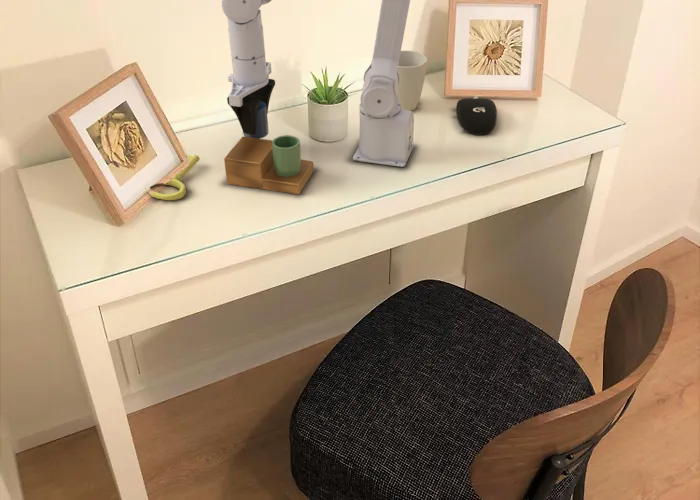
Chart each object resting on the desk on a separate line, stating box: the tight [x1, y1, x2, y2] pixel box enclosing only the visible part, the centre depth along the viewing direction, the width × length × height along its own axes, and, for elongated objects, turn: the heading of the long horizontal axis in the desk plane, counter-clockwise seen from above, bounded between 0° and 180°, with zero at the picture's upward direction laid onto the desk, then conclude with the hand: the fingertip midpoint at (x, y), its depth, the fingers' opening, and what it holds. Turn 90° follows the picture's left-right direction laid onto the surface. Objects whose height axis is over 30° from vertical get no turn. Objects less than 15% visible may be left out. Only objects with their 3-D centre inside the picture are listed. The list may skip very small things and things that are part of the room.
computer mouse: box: [455, 95, 498, 136], centre depth 146 cm, size 8×12×4 cm, turn 179°
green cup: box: [272, 135, 302, 177], centre depth 127 cm, size 5×5×5 cm
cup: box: [398, 50, 428, 111], centre depth 150 cm, size 8×8×10 cm
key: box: [149, 154, 200, 201], centre depth 130 cm, size 7×12×2 cm, turn 174°
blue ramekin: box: [242, 101, 270, 139], centre depth 135 cm, size 5×5×5 cm
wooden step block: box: [223, 136, 315, 195], centre depth 129 cm, size 13×8×5 cm, turn 74°
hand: (255, 126), depth 136 cm, fingers closed on blue ramekin, 5 cm apart
